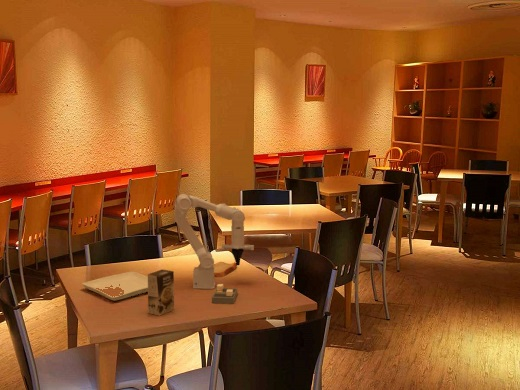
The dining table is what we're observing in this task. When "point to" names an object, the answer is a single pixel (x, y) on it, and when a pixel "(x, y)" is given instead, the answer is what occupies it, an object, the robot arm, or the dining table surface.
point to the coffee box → (160, 292)
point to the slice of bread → (223, 269)
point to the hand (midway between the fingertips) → (237, 264)
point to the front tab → (229, 292)
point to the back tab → (220, 287)
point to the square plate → (128, 283)
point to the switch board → (224, 296)
